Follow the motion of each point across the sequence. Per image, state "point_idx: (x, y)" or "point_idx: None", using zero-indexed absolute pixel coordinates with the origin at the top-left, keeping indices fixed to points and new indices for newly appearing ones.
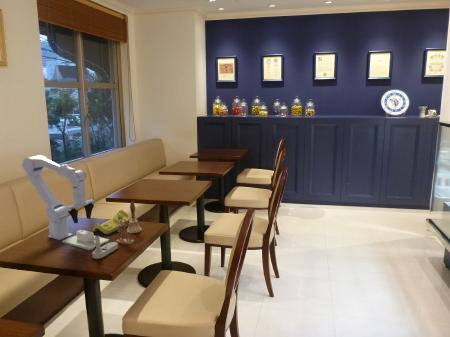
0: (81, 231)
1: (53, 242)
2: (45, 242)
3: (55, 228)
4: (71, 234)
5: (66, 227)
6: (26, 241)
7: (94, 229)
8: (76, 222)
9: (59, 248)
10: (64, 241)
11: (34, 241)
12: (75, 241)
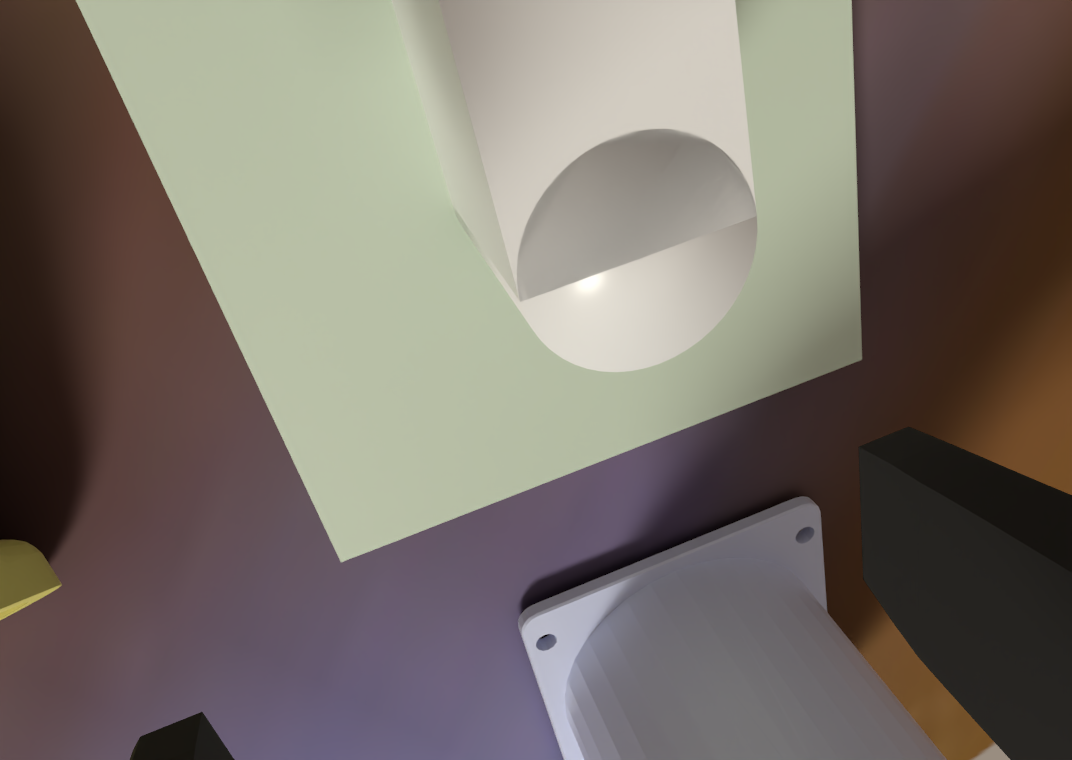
0: (622, 209)
1: None
2: None
3: (931, 742)
4: (549, 615)
5: (715, 743)
6: None
7: (8, 547)
8: (947, 445)
9: (1051, 44)
10: (855, 293)
11: None
12: None
